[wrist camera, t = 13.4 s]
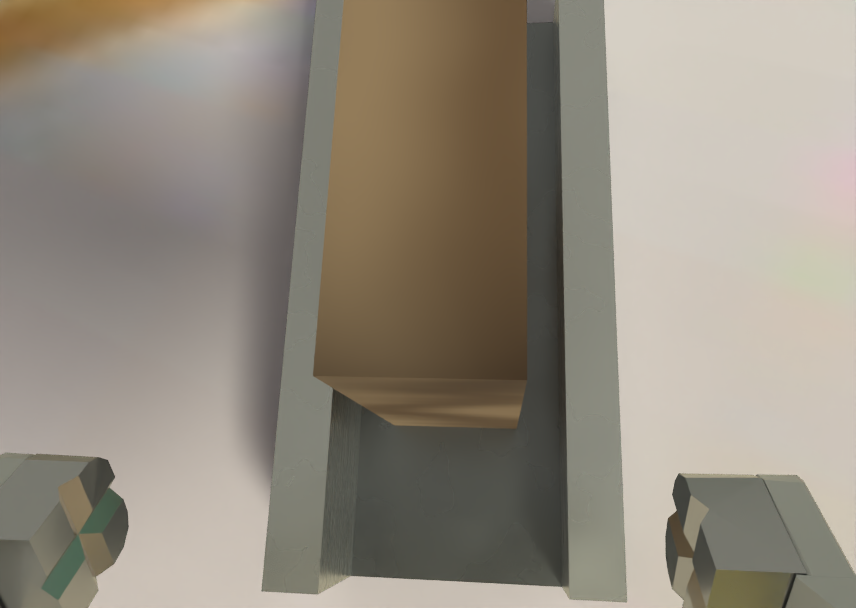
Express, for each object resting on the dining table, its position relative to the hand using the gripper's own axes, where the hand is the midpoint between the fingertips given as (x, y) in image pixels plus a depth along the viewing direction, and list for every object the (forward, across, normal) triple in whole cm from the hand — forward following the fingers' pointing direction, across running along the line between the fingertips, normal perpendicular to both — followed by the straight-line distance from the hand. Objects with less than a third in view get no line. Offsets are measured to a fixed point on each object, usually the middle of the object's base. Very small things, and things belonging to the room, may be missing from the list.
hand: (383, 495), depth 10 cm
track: (+15, 0, +4) cm, 15 cm away
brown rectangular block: (+14, 0, +4) cm, 14 cm away
